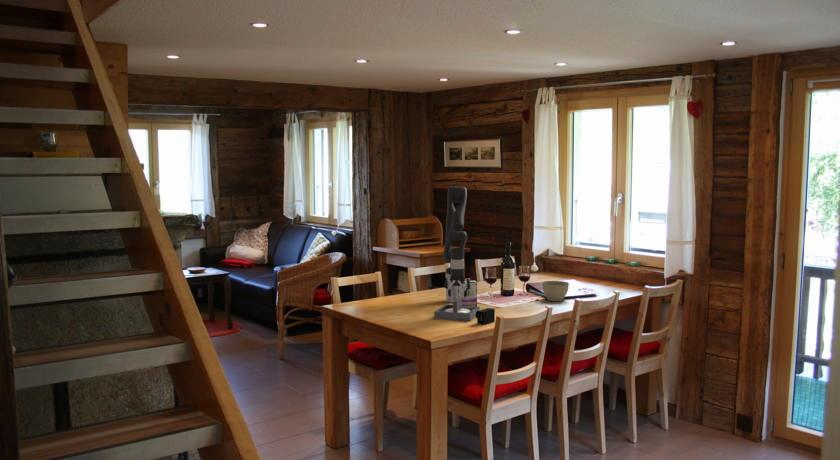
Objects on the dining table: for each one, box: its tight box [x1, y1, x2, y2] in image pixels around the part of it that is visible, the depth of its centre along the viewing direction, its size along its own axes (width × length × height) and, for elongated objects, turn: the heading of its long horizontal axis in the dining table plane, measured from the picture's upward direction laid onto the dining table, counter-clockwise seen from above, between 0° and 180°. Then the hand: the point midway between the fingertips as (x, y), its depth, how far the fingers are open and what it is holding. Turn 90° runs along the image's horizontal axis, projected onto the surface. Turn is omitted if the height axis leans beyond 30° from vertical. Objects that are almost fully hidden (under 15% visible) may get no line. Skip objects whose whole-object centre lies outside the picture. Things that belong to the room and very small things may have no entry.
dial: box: [445, 298, 470, 313], centre depth 382 cm, size 14×14×7 cm
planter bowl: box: [541, 280, 570, 302], centre depth 426 cm, size 16×16×11 cm
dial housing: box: [433, 303, 481, 322], centre depth 383 cm, size 20×20×4 cm
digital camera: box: [475, 307, 496, 326], centre depth 367 cm, size 10×5×7 cm, turn 141°
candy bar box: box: [457, 280, 478, 307], centre depth 400 cm, size 11×5×16 cm, turn 101°
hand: (457, 296), depth 382 cm, fingers open, 8 cm apart
